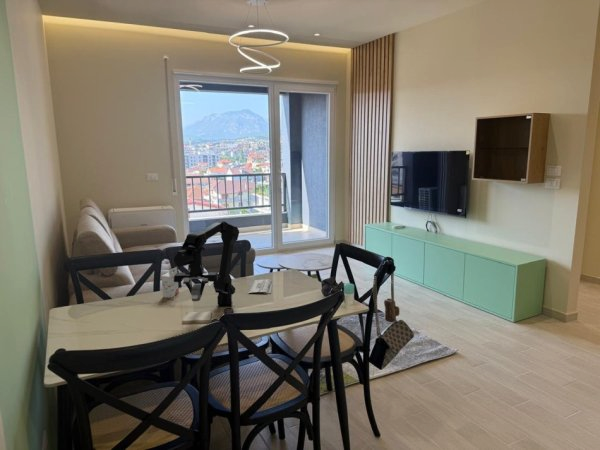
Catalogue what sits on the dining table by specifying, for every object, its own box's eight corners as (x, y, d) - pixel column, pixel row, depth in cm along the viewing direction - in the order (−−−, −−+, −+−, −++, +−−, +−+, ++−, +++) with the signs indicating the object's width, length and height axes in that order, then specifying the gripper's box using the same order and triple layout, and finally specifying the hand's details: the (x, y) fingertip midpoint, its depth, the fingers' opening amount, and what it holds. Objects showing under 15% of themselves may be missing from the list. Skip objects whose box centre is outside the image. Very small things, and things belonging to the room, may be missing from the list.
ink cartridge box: (170, 292, 225) (169, 265, 222) (178, 292, 224) (177, 266, 221) (162, 297, 216) (160, 270, 214) (171, 298, 215) (169, 270, 213)
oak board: (212, 314, 195) (212, 311, 194) (209, 322, 185) (209, 320, 185) (186, 314, 194) (186, 312, 193) (182, 323, 184) (182, 320, 184)
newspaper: (270, 295, 223) (270, 290, 223) (248, 297, 224) (247, 292, 223) (274, 282, 245) (274, 278, 245) (254, 283, 246) (253, 279, 245)
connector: (202, 294, 192) (202, 283, 191) (198, 302, 181) (198, 291, 180) (194, 294, 192) (194, 283, 191) (190, 303, 181) (189, 292, 180)
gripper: (218, 257, 193) (219, 289, 196) (177, 257, 192) (179, 290, 194) (216, 263, 183) (217, 297, 185) (172, 263, 181) (174, 298, 183)
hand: (196, 295), depth 187 cm, fingers closed on connector, 4 cm apart
